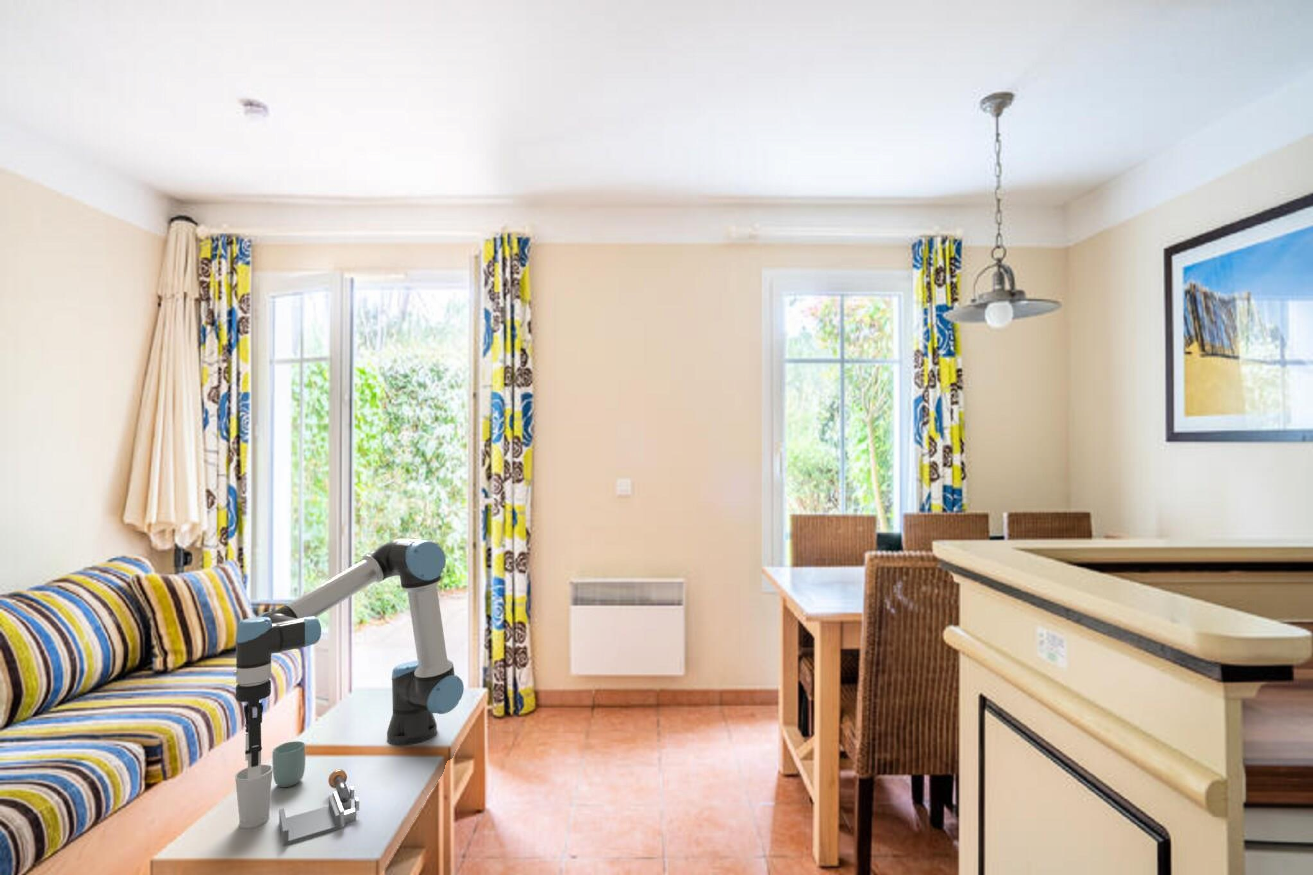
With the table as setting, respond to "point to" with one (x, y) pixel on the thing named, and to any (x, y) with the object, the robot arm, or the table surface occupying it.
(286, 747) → the cup
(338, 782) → the lock pin
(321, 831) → the dock
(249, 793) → the cup
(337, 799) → the lug rail
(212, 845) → the table surface
